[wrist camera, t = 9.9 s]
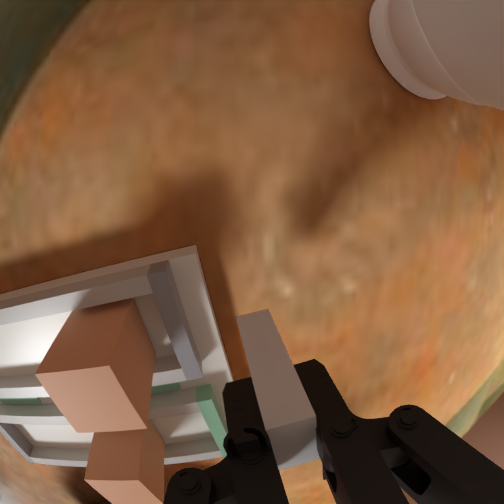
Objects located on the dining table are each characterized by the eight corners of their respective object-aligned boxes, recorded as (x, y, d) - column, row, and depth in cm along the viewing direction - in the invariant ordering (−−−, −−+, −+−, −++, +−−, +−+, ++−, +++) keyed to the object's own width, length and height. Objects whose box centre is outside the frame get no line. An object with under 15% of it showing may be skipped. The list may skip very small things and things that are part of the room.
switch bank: (26, 440, 21) (19, 460, 18) (-59, 310, 15) (-77, 327, 12) (248, 423, 23) (254, 450, 20) (196, 244, 17) (195, 263, 15)
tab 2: (120, 446, 20) (113, 504, 14) (97, 416, 19) (84, 479, 13) (164, 442, 20) (164, 504, 15) (144, 411, 19) (138, 480, 13)
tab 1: (99, 362, 17) (77, 432, 11) (73, 309, 16) (34, 374, 10) (156, 353, 17) (147, 428, 12) (133, 296, 16) (109, 365, 10)
